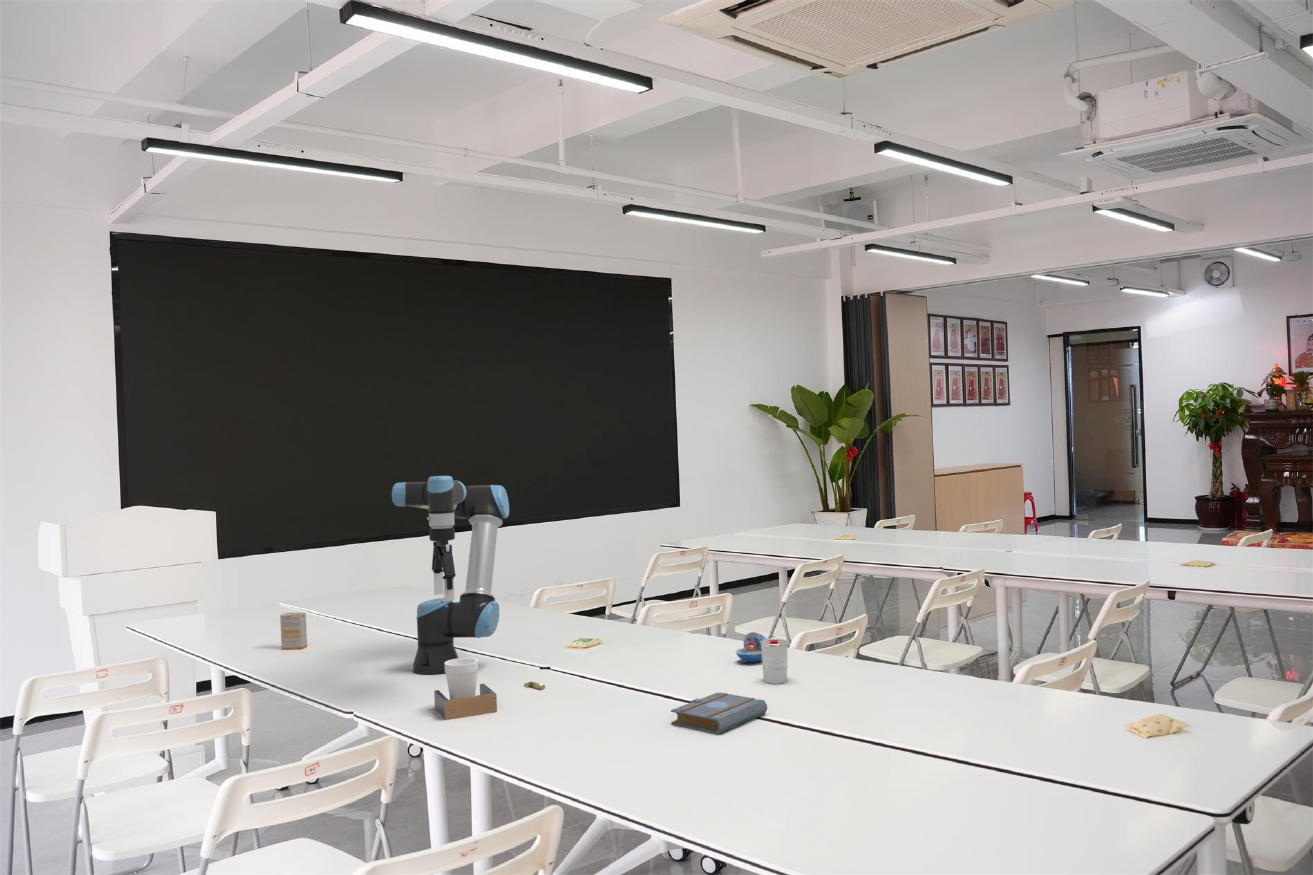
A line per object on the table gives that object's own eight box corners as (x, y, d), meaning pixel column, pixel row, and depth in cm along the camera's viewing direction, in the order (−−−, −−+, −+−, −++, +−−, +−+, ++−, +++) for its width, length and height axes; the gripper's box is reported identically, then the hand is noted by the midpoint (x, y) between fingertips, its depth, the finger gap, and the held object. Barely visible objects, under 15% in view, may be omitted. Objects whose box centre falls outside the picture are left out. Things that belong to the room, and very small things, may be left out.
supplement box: (307, 646, 368) (306, 612, 368) (301, 649, 363) (300, 614, 363) (286, 646, 368) (285, 612, 368) (280, 649, 364) (279, 614, 364)
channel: (434, 708, 276) (434, 690, 276) (484, 700, 282) (483, 683, 282) (445, 719, 264) (445, 701, 264) (497, 711, 270) (496, 693, 270)
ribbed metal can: (795, 678, 296) (794, 639, 296) (787, 685, 288) (785, 645, 288) (764, 676, 300) (762, 637, 300) (755, 683, 292) (753, 643, 292)
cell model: (729, 663, 319) (728, 634, 319) (752, 656, 327) (751, 628, 327) (752, 667, 312) (751, 637, 312) (775, 660, 320) (774, 631, 320)
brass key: (524, 686, 297) (523, 681, 297) (530, 684, 299) (530, 679, 299) (539, 690, 292) (539, 685, 292) (546, 689, 294) (545, 683, 294)
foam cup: (450, 713, 270) (449, 667, 270) (442, 706, 278) (440, 660, 278) (483, 708, 274) (482, 662, 274) (474, 701, 282) (472, 656, 282)
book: (721, 736, 243) (720, 716, 243) (670, 725, 254) (669, 706, 254) (767, 716, 259) (766, 697, 259) (717, 706, 270) (717, 688, 270)
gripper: (420, 525, 303) (422, 593, 303) (438, 531, 280) (441, 604, 280) (444, 523, 306) (446, 590, 306) (464, 529, 283) (466, 601, 283)
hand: (444, 597), depth 293 cm, fingers open, 13 cm apart
